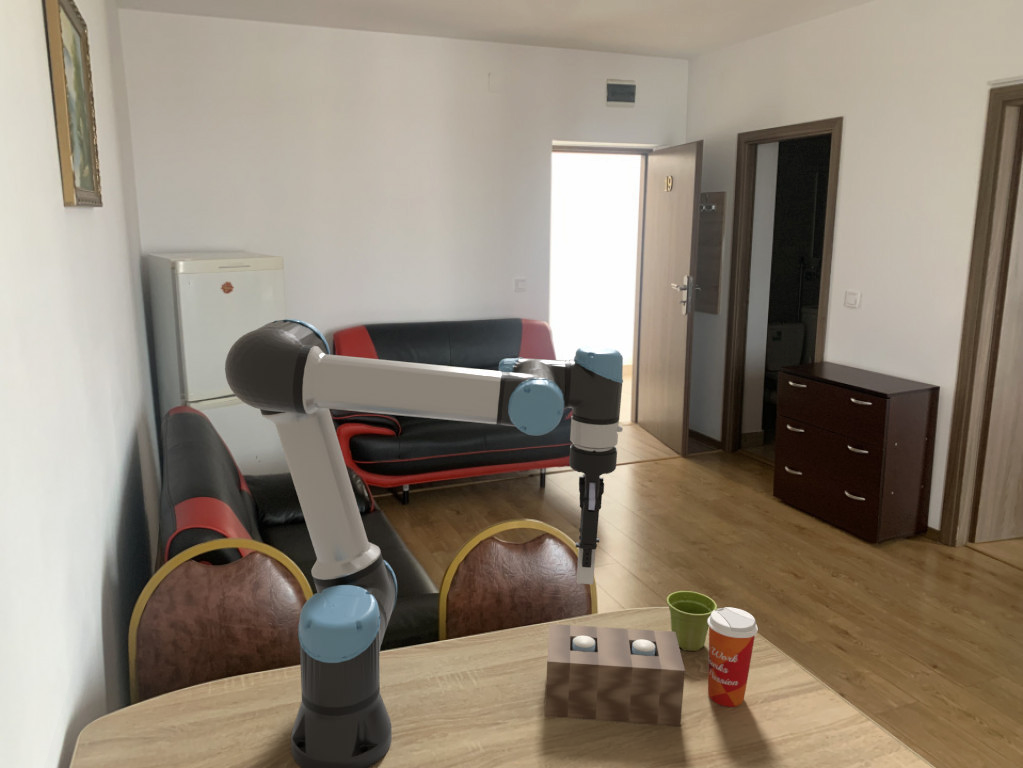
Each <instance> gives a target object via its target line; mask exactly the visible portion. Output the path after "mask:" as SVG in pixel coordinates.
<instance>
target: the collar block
mask: <svg viewBox="0 0 1023 768" xmlns="http://www.w3.org/2000/svg"><path fill="white" fill-rule="evenodd" d="M577 636H588V637H591V638H593V639H594V640H595V652H584V651H572V645H573V639H574V638H575V637H577ZM640 639H643V640H648V641H651V642H652V643H653V644H654V645H655V656H645V655H632V644H633V642H634V641H636V640H640ZM547 641H548V642H547V660H546V661H547V662H546V679H545V680H546V682H545V683H546V684H545V707H544V708H545V709H544V717H549V718H559V719H560V718H561V719H562V718H563V719H576V720H591V721H603V722H605V721H606V722H617V723H618V722H619V723H632V724H645V725H646V724H648V725H656V726H657V725H658V726H673V727H681V724H682V723H681V722H682V713H683V712H682V711H683V698H684V688H685V687H684V685H685V674H686V669H685V665H684V662H683V657H682V653H681V649H680V647H679V645H678V641H677V637H676V633H675V632H672V630H671V631H667V630H666V631H665V630H656V629H655V630H652V629H637V628H620V627H605V626H592V625H591V626H589V625H577V624H576V625H575V624H559V623H557V624H556V623H549V624H548V640H547Z"/></svg>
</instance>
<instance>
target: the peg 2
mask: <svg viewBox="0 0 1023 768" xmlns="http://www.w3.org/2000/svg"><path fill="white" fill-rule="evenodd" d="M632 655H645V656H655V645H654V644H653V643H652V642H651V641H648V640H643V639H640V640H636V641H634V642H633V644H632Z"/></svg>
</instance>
